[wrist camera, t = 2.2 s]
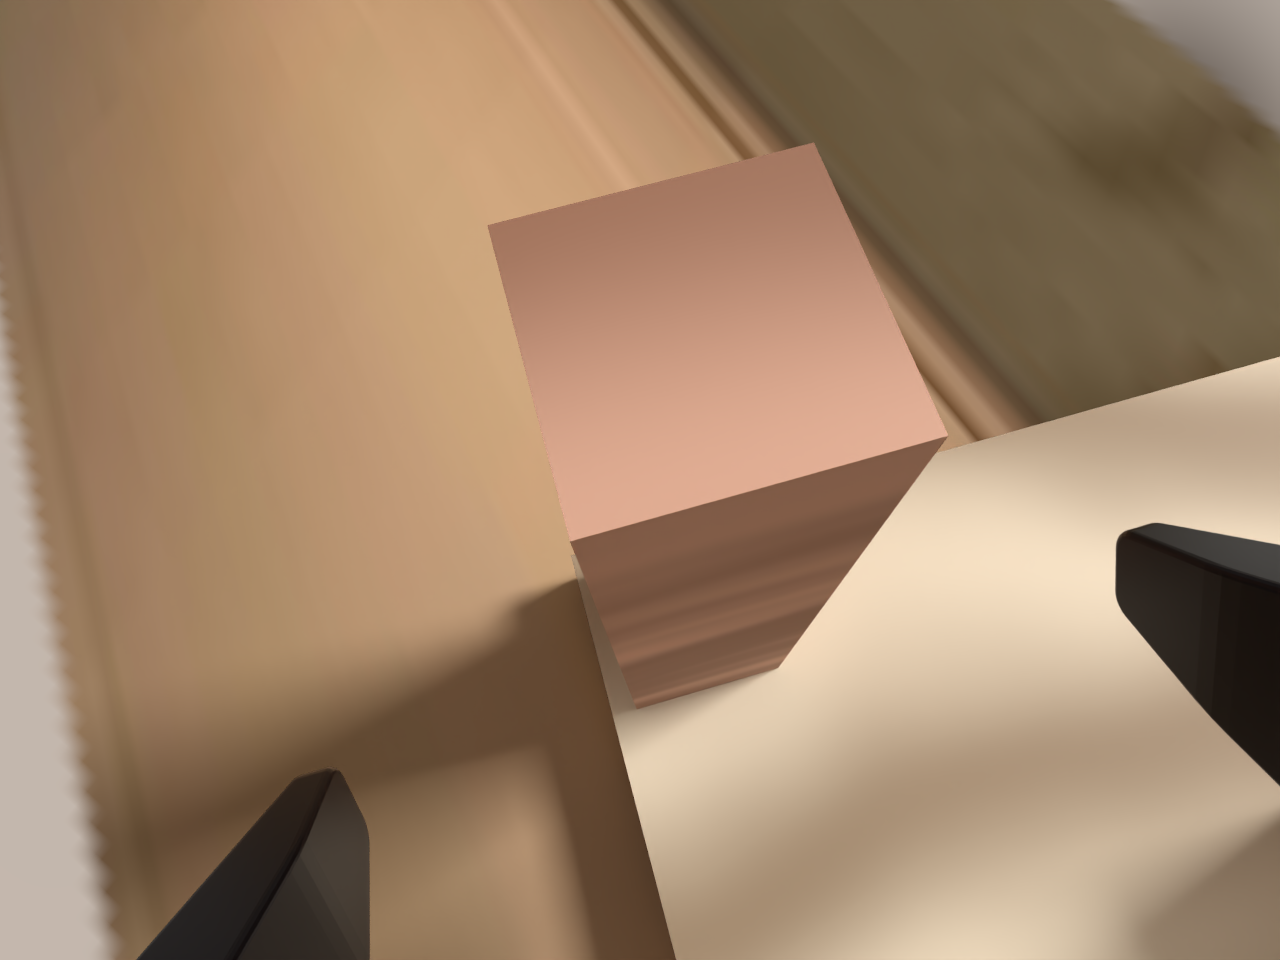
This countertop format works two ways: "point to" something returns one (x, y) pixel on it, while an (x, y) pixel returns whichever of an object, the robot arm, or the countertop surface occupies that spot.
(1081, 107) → the countertop surface
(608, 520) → the board with upright post
